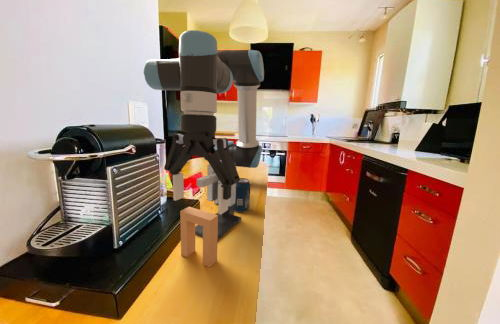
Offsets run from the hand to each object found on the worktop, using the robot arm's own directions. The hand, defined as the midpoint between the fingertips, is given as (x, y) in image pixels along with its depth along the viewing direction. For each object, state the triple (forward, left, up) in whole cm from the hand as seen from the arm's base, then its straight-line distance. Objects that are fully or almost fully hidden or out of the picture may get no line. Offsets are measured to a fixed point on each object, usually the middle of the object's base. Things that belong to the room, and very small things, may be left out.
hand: (199, 204), depth 48 cm
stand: (-15, -5, -14) cm, 21 cm away
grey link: (-16, -5, -6) cm, 18 cm away
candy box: (-36, -17, -14) cm, 42 cm away
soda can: (-30, -5, -14) cm, 34 cm away
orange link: (0, 0, -14) cm, 14 cm away
